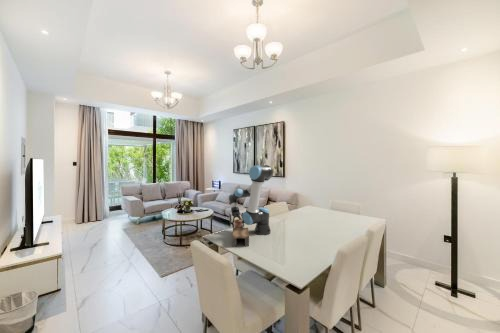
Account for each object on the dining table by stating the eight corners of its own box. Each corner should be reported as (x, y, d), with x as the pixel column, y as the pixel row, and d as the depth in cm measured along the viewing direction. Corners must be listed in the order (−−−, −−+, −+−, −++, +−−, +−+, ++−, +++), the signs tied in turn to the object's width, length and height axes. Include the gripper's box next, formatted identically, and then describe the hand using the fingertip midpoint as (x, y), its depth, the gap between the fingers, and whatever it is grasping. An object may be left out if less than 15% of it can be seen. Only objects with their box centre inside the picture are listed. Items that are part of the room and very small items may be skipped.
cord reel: (241, 232, 204) (241, 219, 204) (241, 234, 197) (242, 221, 197) (234, 232, 204) (234, 219, 203) (234, 234, 197) (234, 221, 196)
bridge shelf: (247, 236, 192) (247, 227, 192) (248, 246, 173) (249, 236, 172) (232, 236, 192) (233, 227, 191) (232, 246, 172) (232, 236, 171)
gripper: (243, 209, 217) (248, 231, 203) (224, 211, 211) (227, 233, 196) (245, 205, 212) (250, 227, 197) (225, 207, 206) (229, 229, 191)
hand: (239, 230), depth 197 cm, fingers closed on cord reel, 7 cm apart
